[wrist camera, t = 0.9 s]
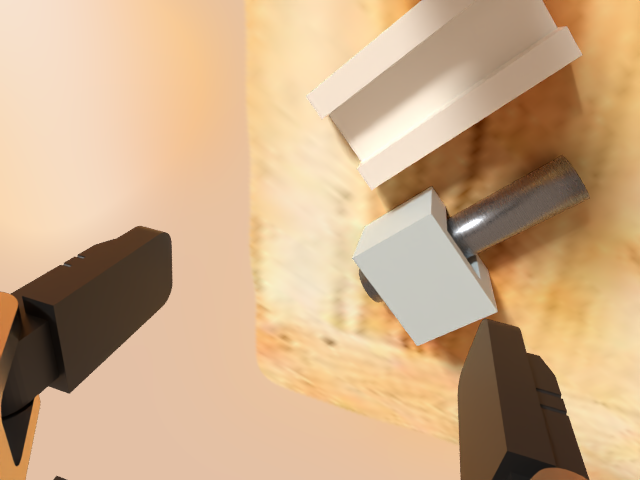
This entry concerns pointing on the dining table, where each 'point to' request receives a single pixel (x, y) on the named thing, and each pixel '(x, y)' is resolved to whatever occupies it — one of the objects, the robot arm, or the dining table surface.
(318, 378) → the dining table surface
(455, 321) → the bearing block
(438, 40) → the cradle
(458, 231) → the axle
